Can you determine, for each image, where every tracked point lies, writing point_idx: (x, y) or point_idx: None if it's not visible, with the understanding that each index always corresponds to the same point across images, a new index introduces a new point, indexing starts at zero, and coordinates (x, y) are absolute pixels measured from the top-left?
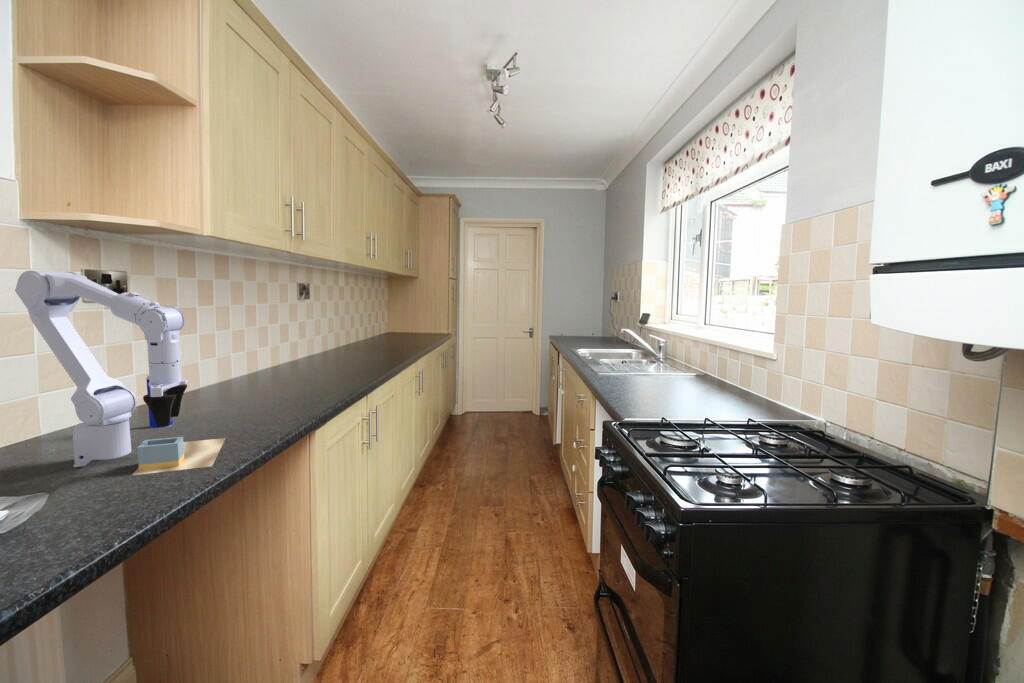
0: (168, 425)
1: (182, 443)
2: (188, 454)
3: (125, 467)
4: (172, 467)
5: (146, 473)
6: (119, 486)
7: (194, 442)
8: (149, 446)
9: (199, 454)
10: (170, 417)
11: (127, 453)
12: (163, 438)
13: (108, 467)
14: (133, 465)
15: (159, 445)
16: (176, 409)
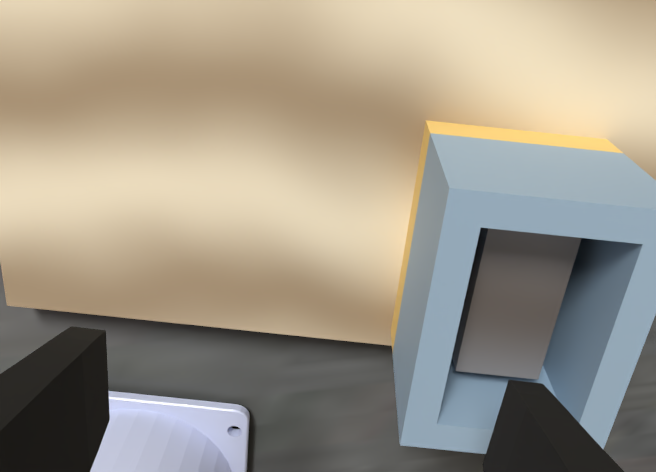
0: (542, 385)
1: (478, 169)
2: (344, 98)
3: (330, 399)
4: None
5: None
6: (650, 385)
7: (19, 78)
8: (619, 400)
9: (385, 13)
10: (560, 438)
11: (171, 432)
12: (422, 333)
13: (291, 461)
14: (312, 370)
15: (642, 341)
16: (60, 404)
